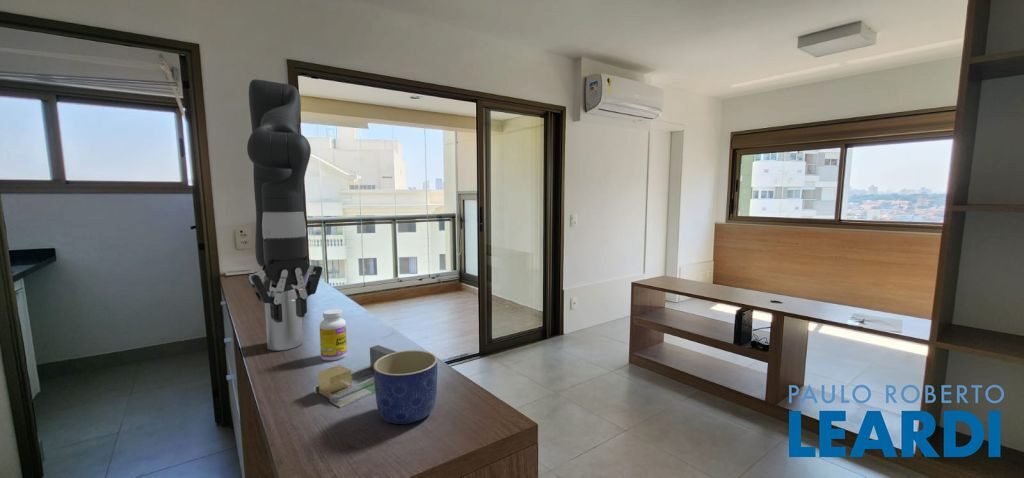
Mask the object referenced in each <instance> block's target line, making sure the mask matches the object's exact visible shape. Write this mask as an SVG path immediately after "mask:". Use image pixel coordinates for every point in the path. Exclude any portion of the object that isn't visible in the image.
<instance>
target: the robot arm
mask: <svg viewBox="0 0 1024 478" xmlns="http://www.w3.org/2000/svg"><path fill="white" fill-rule="evenodd" d="M248 105H249V106H248V107H249V115H250V124H251V134H250V136H249V137H248V140H247V145H246V150H247V156H248V157H249V159H250V161H251V162H252V163H253V167H252V168H253V188H254V189H253V191H254V192H253V194H254V202H255V203H254V204H255V249H254V250H255V253H254V254H255V260H256V262H257V264H258V266H260V267H261V268H262V270H259V271H257V272H255V273H249V274H248V275H247V277H246V278H247V281H248V282H249V284H250V286H251V289H253V292H254V294H255V296H256V299H257V300H258V301H259V302H260V303H261V302H262V303H264V313H265V314H264V315H265V327H266V328H265V330H266V344H267V345H266V347H267V350H270V351H285V350H286V351H287V350H291V349H294V348H297V347H299V346H301V345H303V340H304V339H303V322H302V321H303V320H302V319H303V318H304V317H305V316H306V314H307V312H308V309H307V308H308V304H307V300H308V298H309V296H311V295H315V294H316V293H317V289H318V286H319V283H320V279H321V277H322V276H321V275H322V272H323V267H322V266H320V265H311V264H310V263H309V260H308V257H307V256H308V247H307V246H308V242H307V225H306V219H305V218H306V217H305V213H304V209H305V208H304V181H305V178H306V177H305V176H306V174H307V173H306V172H307V169H308V164H309V163H310V157H311V154H312V153H311V151H312V148H311V144H310V142H309V141H308V139H307V138H306V137H305V136H304V135H303V134H301V133H299V131H298V125H299V122H300V118H301V111H302V107H301V106H302V102H301V95H300V92H299V90H298V88H296V87H295V86H294V85H292V84H287V83H282V82H276V81H270V80H264V79H258V78H257V79H256V78H254V79H252V80H251V81H250V82H249V85H248ZM306 274H308V277H307V281H306V283H305V281H304V277H305V276H306ZM265 277H266V279H265Z"/></svg>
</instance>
